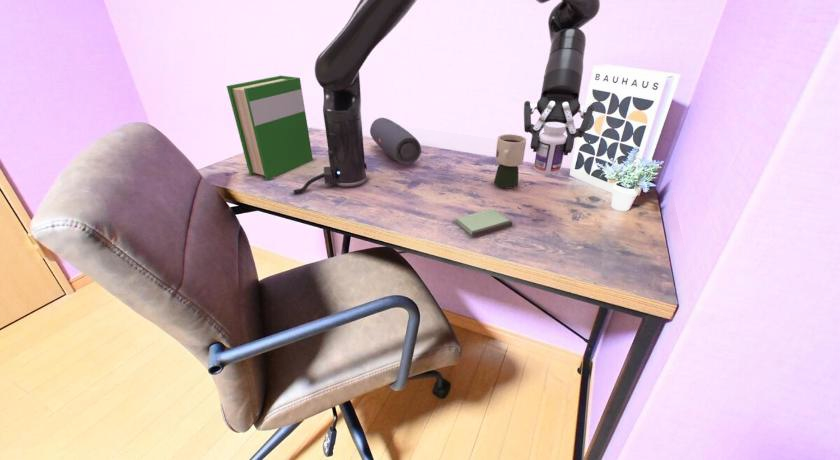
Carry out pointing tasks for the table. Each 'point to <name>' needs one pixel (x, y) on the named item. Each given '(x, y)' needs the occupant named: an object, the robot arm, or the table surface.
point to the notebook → (483, 222)
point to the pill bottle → (550, 148)
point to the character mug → (509, 159)
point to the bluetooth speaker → (395, 141)
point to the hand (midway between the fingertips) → (550, 151)
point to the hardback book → (271, 124)
